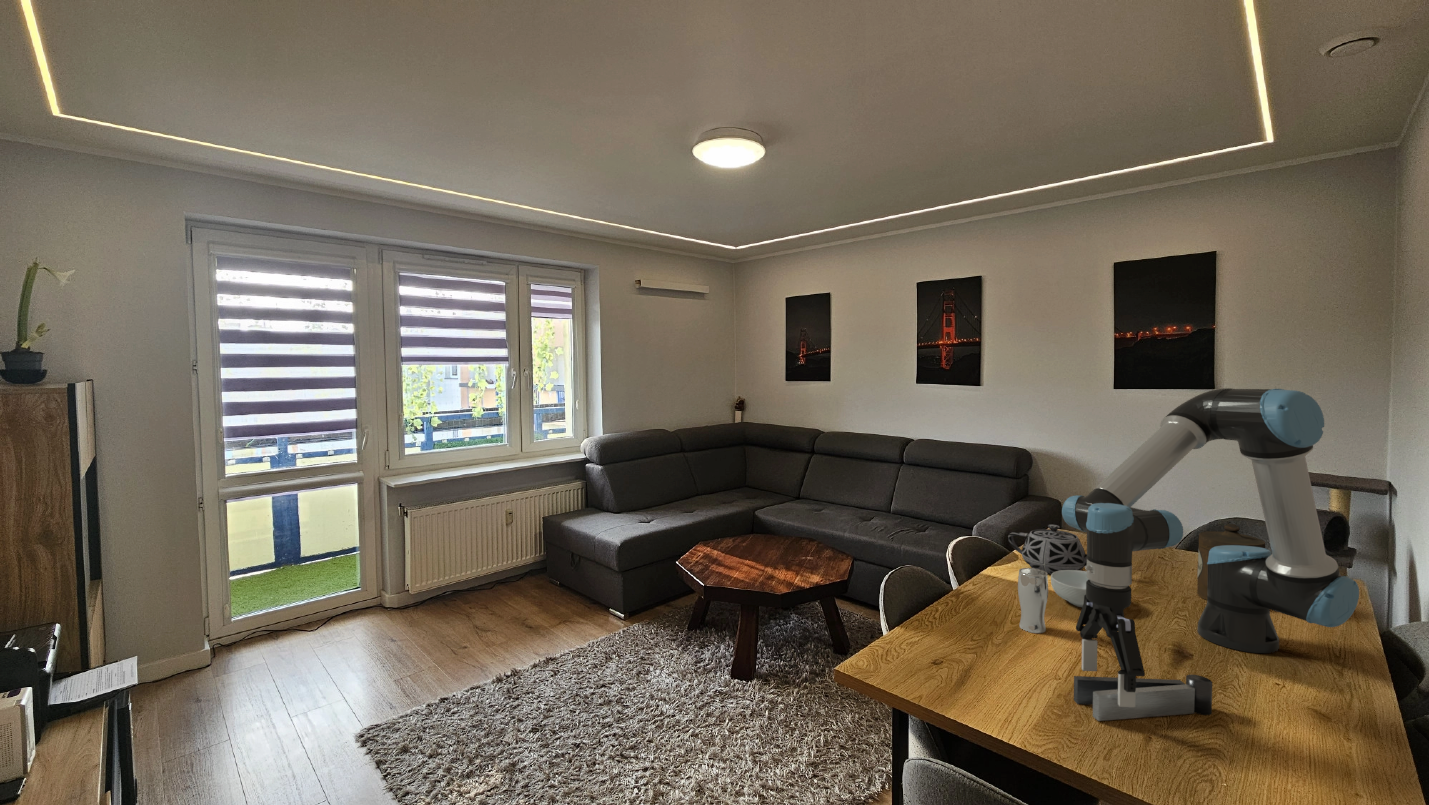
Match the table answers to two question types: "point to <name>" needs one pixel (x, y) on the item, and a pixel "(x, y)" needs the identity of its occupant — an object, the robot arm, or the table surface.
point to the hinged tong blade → (1145, 702)
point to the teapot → (1051, 550)
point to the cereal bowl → (1070, 585)
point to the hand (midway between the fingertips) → (1106, 687)
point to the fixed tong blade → (1089, 684)
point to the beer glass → (1032, 599)
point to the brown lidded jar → (1219, 539)
